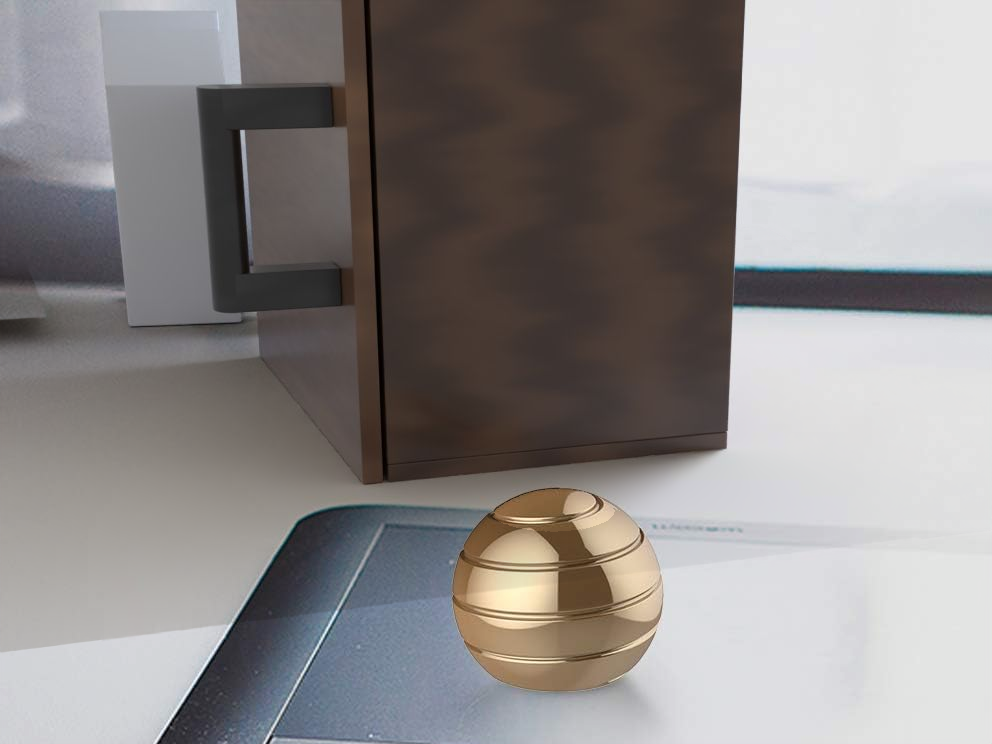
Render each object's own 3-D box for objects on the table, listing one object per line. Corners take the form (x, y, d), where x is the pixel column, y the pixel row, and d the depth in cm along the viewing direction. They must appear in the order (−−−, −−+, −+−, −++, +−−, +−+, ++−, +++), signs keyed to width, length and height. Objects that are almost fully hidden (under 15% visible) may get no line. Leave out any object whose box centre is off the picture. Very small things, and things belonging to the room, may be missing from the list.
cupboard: (388, 484, 85) (367, -49, 75) (280, 356, 107) (253, -69, 97) (727, 450, 91) (748, -46, 82) (559, 336, 113) (560, -65, 103)
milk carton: (242, 324, 114) (220, 15, 106) (128, 329, 112) (98, 14, 105) (236, 301, 120) (215, 7, 113) (128, 305, 118) (99, 6, 111)
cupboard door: (239, 496, 82) (198, -47, 73) (159, 363, 104) (120, -68, 95) (383, 482, 85) (362, -46, 75) (276, 354, 106) (249, -66, 97)
